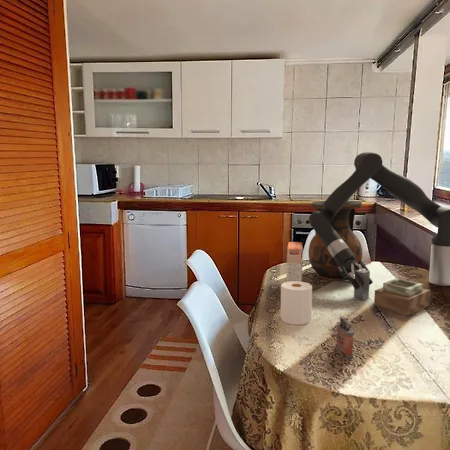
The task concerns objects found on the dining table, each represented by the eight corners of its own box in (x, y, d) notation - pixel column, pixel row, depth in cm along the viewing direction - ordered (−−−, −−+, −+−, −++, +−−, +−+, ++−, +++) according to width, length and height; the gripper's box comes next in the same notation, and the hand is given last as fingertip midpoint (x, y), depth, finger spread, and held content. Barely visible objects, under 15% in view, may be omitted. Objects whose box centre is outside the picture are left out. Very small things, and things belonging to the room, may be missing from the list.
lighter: (333, 346, 117) (334, 313, 116) (344, 345, 118) (345, 313, 116) (343, 359, 109) (344, 324, 108) (355, 358, 110) (357, 324, 108)
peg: (359, 295, 161) (360, 269, 159) (368, 298, 158) (369, 271, 156) (353, 297, 159) (354, 270, 157) (362, 300, 156) (364, 272, 154)
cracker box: (301, 302, 155) (302, 248, 151) (285, 301, 156) (286, 248, 153) (301, 290, 168) (302, 241, 165) (287, 289, 169) (288, 241, 166)
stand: (396, 296, 160) (397, 275, 158) (429, 305, 150) (431, 283, 148) (374, 305, 150) (375, 283, 148) (408, 315, 140) (409, 292, 138)
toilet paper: (275, 316, 140) (275, 283, 139) (300, 311, 144) (301, 279, 143) (291, 327, 131) (291, 291, 129) (317, 322, 135) (318, 287, 133)
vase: (319, 266, 206) (321, 198, 201) (368, 273, 192) (371, 201, 187) (299, 277, 187) (300, 202, 182) (351, 286, 173) (354, 205, 167)
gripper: (335, 249, 157) (360, 284, 150) (356, 244, 166) (381, 277, 158) (324, 260, 162) (347, 294, 155) (345, 255, 171) (368, 287, 163)
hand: (364, 286), depth 157 cm, fingers open, 8 cm apart
